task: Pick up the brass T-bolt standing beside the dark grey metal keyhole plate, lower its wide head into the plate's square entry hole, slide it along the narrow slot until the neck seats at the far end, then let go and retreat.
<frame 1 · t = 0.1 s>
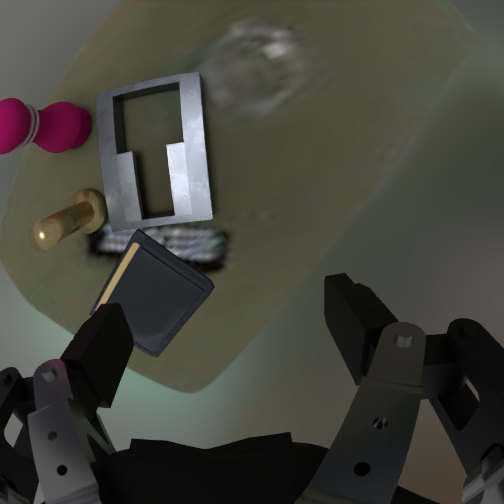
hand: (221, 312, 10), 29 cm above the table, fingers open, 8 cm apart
bolt: (90, 209, 37), on the table
wallet: (147, 298, 43), on the table
keyhole plate: (157, 155, 35), on the table
pepper mill: (75, 128, 32), on the table
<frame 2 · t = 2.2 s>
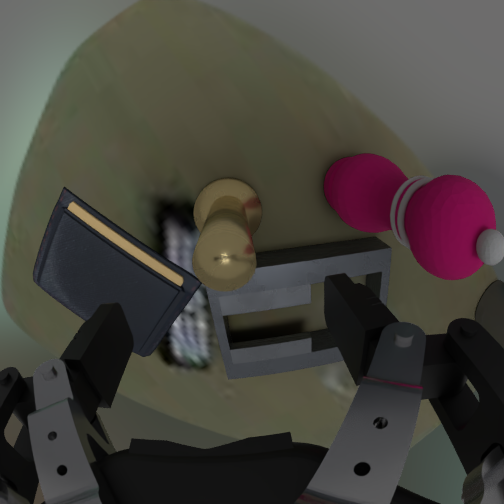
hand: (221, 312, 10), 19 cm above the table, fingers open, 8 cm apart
bolt: (228, 209, 28), on the table
wallet: (105, 278, 30), on the table
keyhole plate: (295, 304, 32), on the table
pepper mill: (350, 185, 28), on the table
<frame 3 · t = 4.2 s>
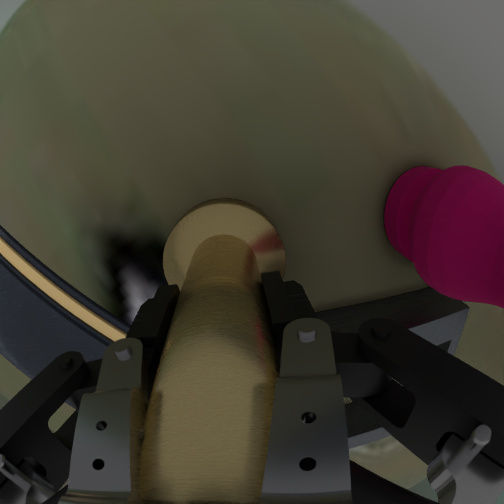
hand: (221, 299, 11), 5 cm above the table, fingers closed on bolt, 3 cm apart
bolt: (224, 253, 16), on the table, touching gripper
wallet: (56, 340, 19), on the table
keyhole plate: (323, 380, 20), on the table
pepper mill: (418, 211, 16), on the table
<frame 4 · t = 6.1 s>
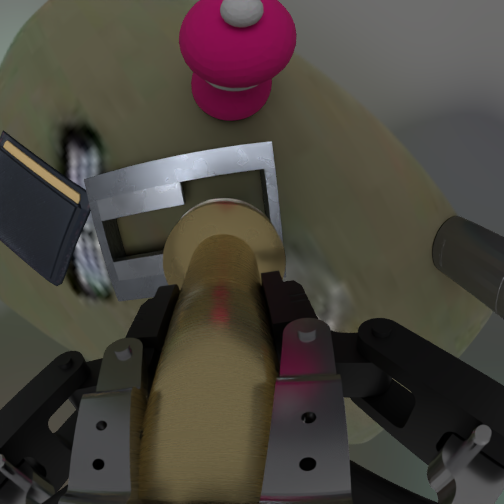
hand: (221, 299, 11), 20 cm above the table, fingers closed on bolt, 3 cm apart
bolt: (224, 253, 16), point 15 cm above the table, touching gripper
wallet: (28, 207, 28), on the table
keyhole plate: (183, 219, 30), on the table
pepper mill: (230, 92, 26), on the table
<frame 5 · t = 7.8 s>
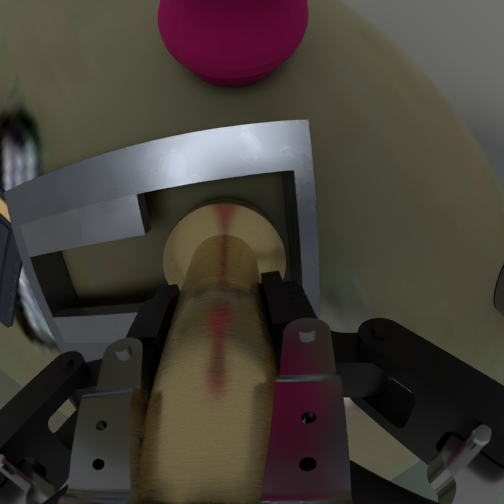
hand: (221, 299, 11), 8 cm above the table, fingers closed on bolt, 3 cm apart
bolt: (224, 253, 16), point 2 cm above the table, touching gripper
keyhole plate: (155, 252, 18), on the table
pepper mill: (232, 45, 14), on the table
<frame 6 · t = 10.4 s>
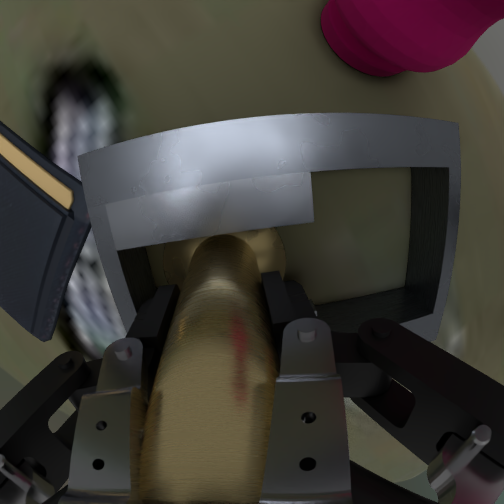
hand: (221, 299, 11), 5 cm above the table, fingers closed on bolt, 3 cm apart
bolt: (224, 253, 16), on the table, touching gripper
keyhole plate: (281, 245, 16), on the table
pepper mill: (366, 34, 12), on the table
when the fingers open (5 cm above the table, at t = 11.8 s): bolt stays where it is, on the table.
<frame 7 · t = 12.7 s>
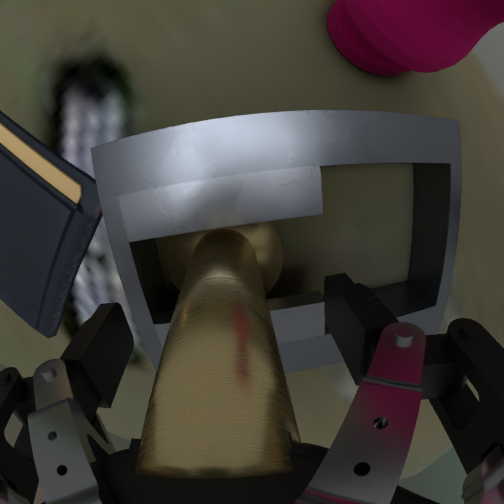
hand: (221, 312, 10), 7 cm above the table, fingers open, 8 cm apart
bolt: (224, 248, 17), on the table
keyhole plate: (289, 239, 17), on the table
pepper mill: (370, 35, 12), on the table
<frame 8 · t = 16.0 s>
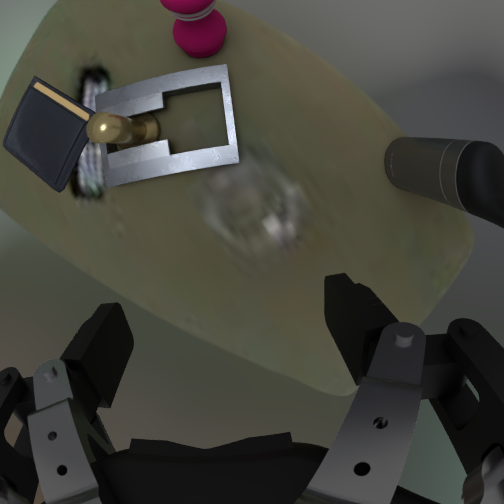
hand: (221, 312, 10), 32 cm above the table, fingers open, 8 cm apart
bolt: (140, 132, 36), on the table
wallet: (46, 131, 34), on the table
keyhole plate: (164, 126, 36), on the table
pepper mill: (202, 41, 32), on the table
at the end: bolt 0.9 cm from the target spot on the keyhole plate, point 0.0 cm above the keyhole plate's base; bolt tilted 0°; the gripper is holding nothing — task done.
